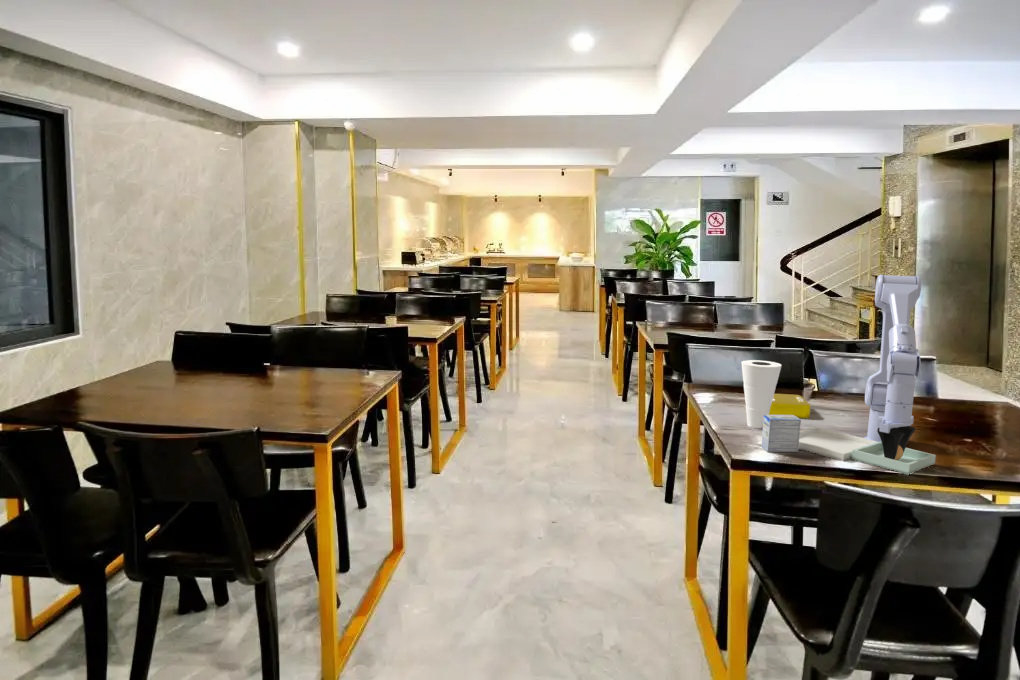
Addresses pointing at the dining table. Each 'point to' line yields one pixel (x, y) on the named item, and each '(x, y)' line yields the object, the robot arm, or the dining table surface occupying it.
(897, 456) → the ball
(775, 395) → the element tile
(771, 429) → the medicine box
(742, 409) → the dining table surface
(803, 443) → the tray
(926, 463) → the dish
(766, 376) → the white paper towel roll
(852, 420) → the dining table surface
